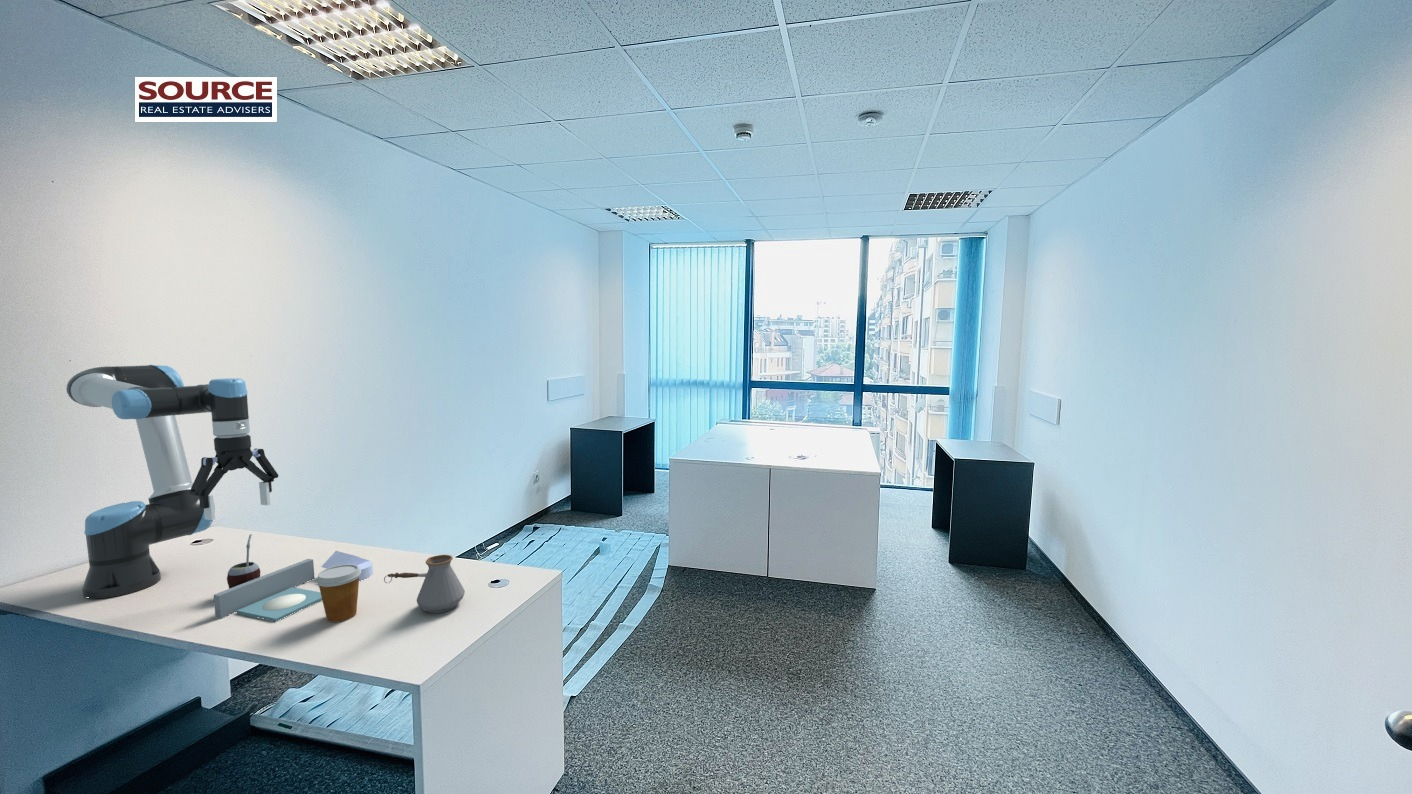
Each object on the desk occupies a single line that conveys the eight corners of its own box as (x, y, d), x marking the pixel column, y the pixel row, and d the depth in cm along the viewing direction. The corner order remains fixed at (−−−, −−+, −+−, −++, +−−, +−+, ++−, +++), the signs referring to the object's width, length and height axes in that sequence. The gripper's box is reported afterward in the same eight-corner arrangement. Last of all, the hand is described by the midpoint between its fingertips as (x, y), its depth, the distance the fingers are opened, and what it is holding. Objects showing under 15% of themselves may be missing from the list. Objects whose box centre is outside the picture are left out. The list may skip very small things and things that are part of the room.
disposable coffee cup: (329, 629, 131) (326, 582, 129) (311, 619, 136) (308, 573, 134) (371, 613, 139) (368, 568, 137) (352, 603, 144) (349, 560, 143)
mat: (237, 613, 138) (236, 610, 138) (292, 589, 152) (292, 586, 152) (276, 621, 134) (275, 618, 134) (330, 596, 148) (329, 593, 148)
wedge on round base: (321, 577, 160) (349, 586, 154) (320, 556, 159) (347, 563, 154) (352, 566, 168) (379, 573, 162) (351, 545, 167) (378, 552, 162)
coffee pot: (441, 593, 150) (439, 541, 148) (474, 599, 146) (472, 546, 145) (371, 631, 130) (368, 572, 128) (408, 640, 126) (404, 578, 125)
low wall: (215, 617, 136) (213, 594, 136) (309, 578, 159) (308, 558, 159) (220, 618, 136) (218, 595, 135) (314, 579, 159) (313, 559, 158)
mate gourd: (235, 601, 145) (230, 547, 144) (222, 594, 149) (218, 542, 147) (268, 590, 151) (264, 538, 150) (255, 584, 155) (251, 533, 154)
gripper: (185, 444, 133) (193, 527, 135) (289, 429, 157) (295, 500, 159) (165, 442, 135) (174, 524, 137) (271, 428, 159) (277, 498, 161)
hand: (239, 511), depth 148 cm, fingers open, 13 cm apart
